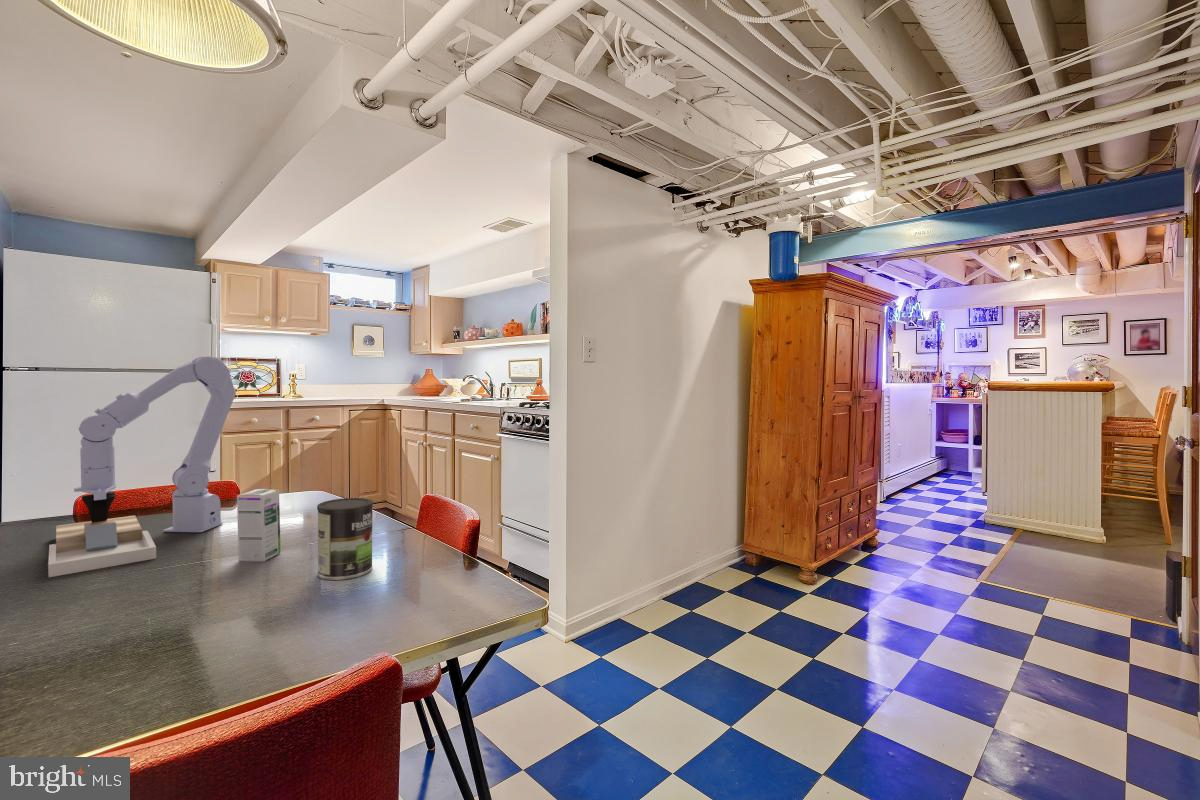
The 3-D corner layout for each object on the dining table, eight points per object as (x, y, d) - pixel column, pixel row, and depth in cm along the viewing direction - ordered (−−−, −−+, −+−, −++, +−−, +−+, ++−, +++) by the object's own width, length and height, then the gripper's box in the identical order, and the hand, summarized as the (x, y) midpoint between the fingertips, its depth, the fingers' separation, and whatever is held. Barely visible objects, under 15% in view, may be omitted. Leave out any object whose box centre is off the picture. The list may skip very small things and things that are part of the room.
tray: (49, 556, 113) (49, 544, 113) (147, 540, 125) (147, 530, 125) (48, 577, 102) (48, 564, 102) (156, 558, 114) (156, 546, 114)
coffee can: (383, 564, 113) (383, 499, 112) (351, 583, 103) (351, 511, 102) (340, 560, 115) (340, 495, 114) (305, 577, 105) (305, 507, 104)
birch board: (56, 538, 125) (56, 525, 125) (135, 527, 135) (135, 515, 135) (56, 555, 114) (56, 541, 114) (142, 541, 124) (141, 529, 124)
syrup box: (264, 562, 113) (263, 494, 112) (237, 561, 113) (236, 493, 112) (281, 553, 119) (280, 489, 118) (254, 552, 119) (254, 488, 118)
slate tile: (85, 529, 117) (85, 526, 116) (115, 525, 121) (116, 522, 120) (86, 551, 115) (86, 548, 114) (117, 546, 119) (117, 543, 118)
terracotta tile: (84, 532, 121) (84, 523, 121) (113, 528, 124) (113, 519, 124) (84, 537, 117) (84, 528, 117) (115, 532, 121) (115, 524, 121)
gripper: (73, 464, 125) (74, 521, 125) (74, 473, 115) (75, 535, 115) (113, 461, 130) (114, 516, 130) (118, 470, 120) (119, 529, 120)
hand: (99, 525), depth 123 cm, fingers closed
